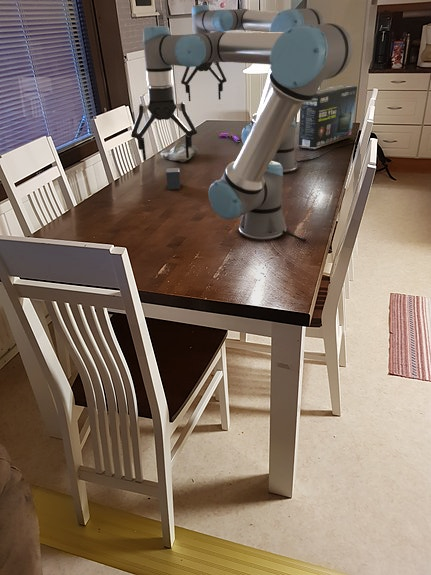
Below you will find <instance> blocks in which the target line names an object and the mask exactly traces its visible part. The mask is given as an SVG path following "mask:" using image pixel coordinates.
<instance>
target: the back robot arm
mask: <svg viewBox="0 0 431 575" xmlns="http://www.w3.org/2000/svg"><path fill="white" fill-rule="evenodd" d="M191 24H192V26H191V27H192V34H201V33H211V32H218V31H222V32H231V31H244V32H285V31H287V30H288V29H291V28H294V27H296V26H299V25H304V24H306V25H318V24H326V22H325V17H324V15H323V14H322V13H321V12H320V11H319V10H318V9H316V8H309V7H308V8H287V9H284V10H281V11H273V10H272V11H271V10H258V9H257V10H256V9H248V8H236V9H212V10H211V7H210V5H208V4H200V5H199V4H198V5H197V4H195V5H193V6H192V7H191ZM213 64H214V66H216V68H217V70H218V71H219V74H220V76H221V77H220V76H219V75H218V74H217V73H216V71H215V70H214V69H213V68H212V65H213ZM270 67H271V64H269V69H268V73H267V76H266V80H265V83H264V87H263V90H262V94H261V97H260V100H259V104H258V107H257V111H256V113H253V115H252V116H251V119H250V122H249V123H250V124H247V125H246V126H244V127H243V129H242V131H241V141H242V144H243V145H244V143H245V140H246V138H247V136H248V134H249V132H250V130H251V128H252V126H253V124H254V122H255V120H256V117H257V115H258V113H259V111H260V109H261V107H262V105H263V103H264V101H265V99H266V97H267V94H268V92H269V90H270V88H271V86H272V85H271V83H270V80H269V75H270V73H271V69H270ZM190 68H191V67H185V70H184V73H183V76H182V78H181V79H180V84H181V85H184V86H185V87H184V88H185V93H186V94H188V95H187V96H188V102H191V85H190V82H192V79H193V78H194V77H195V75H196V74H197V73H198V72H208V71H209V72H210V73H211V74H212V75H213V77H214V78H215V79H216V80H217V81H218V83H217V92H218V94H217V95H218V96H217V97H218V100H219V101H220V100H221V92H223V91H224V86H223V85H224V83H226V82H227V81H228V79H227V77H226V76H225V74H224V71H223V70H222V67H221V66H220V62H207V63H202V64H200V65H199V66H196V67H194V69H193V71H192V72H191V73H190V75H189V76H188V78H187V75H188V73H189V70H190ZM186 78H187V79H186ZM221 78H222V79H221ZM296 127H297V126H296V118H295V119H294V121H293V123H292V124H291V126H290V128H289V130H288V132H287V133H286V135H285V137H284V139H283V141H282V143H281V144H280V146H279V148H278V150H277V152H276V153H275V155H274V157H273V159H272V161H275V162H278V163H280V164H281V165H282V167H283V171H286V172H283V174H291V173H294V172H296V171H297V170H298V163H305V162H311V161H314V160H317V159H320V158H321V157H322V156H324V155H325V153H324V152H323V153H324V154H322V153H321V154H322V155H321V154H319V155H320V156H319V155H318V156H319V157H317V156H315V157H316V158H314V157H312V158H313V159H311V158H307V159H299V160H300V161H297V160H298V159H297V158H296V155H295V139H296V137H295V136H296ZM354 145H358V143H357V142H356V141H355V143H354ZM290 170H292V171H290Z"/></svg>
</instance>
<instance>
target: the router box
mask: <svg viewBox="0 0 431 575" xmlns="http://www.w3.org/2000/svg"><path fill="white" fill-rule="evenodd" d="M357 93H358V86H356V85H350V84H339V85H338V84H337V85H334V86H328V87H324V88H319V89H318V91H317V93H316V94H315V96H314V98H313V99H312V100H311V101H309V102H305V103H303V104H302V106H301V108H300V110H299V124H298V137H297V146H298V145H302V146H307V147H317V146H320V145H323V144H325V143H328V142H331V141H333V140H336V139H338V138H341V137H344V136H347V135H351V136H352V133H353V132H352V131H353V125H354V115H355V109H356V99H357ZM311 151H313V150H312V149H311Z"/></svg>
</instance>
